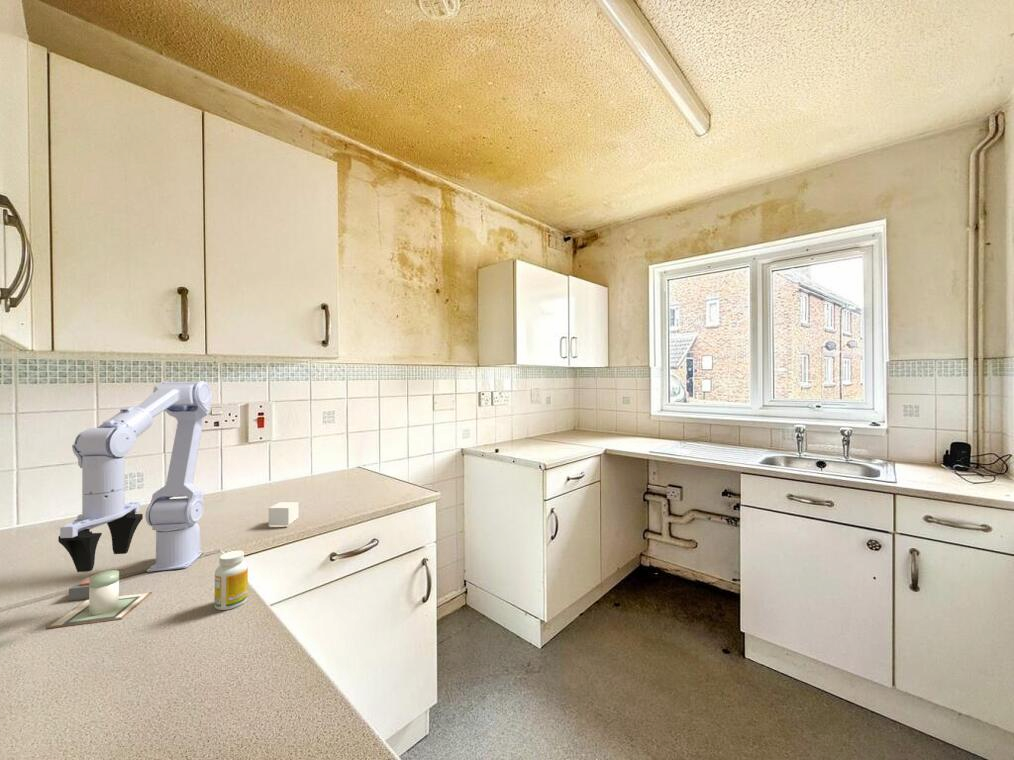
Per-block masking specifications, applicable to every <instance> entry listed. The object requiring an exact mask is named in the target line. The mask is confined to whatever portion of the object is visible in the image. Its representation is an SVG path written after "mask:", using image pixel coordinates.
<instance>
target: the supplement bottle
mask: <svg viewBox="0 0 1014 760" xmlns="http://www.w3.org/2000/svg"><path fill="white" fill-rule="evenodd" d="M244 559H245V552H244V551H243V550H232V551H228V552H225V553H223V554H221V555H219V560H218V561H219V562H218V563H219V566H218V567H217V568H216V569H215V571H214V608H215V609H216V610H218V611H227V610H231V609H235V608H238V607H240V606H242V605H244V604H245V602H246V601H247V600H248V587H249V586H248V581H249V578H248V577H249V576H248V575H249V574H248V572H249V571H248V568H249V567H248V563H247V562H246V561H244Z"/></svg>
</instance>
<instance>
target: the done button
mask: <svg viewBox="0 0 1014 760" xmlns="http://www.w3.org/2000/svg"><path fill="white" fill-rule="evenodd" d="M85 585H89V579H87V580H86V581H84V582H83V583H81V584H80V586H85Z"/></svg>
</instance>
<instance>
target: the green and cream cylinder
mask: <svg viewBox="0 0 1014 760" xmlns="http://www.w3.org/2000/svg"><path fill="white" fill-rule="evenodd" d="M89 577H90V578H89V599H88V600H89V614H90V615H100V614H104V613H107V612H110V611H112V610H114V609H116V608H117V607H118V606H119V596H120V595H119V594H120V571H119V570H116V569H112V570H105V571H102V572H98V573H95V574H93V575H92V576H89Z"/></svg>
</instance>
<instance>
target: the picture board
mask: <svg viewBox="0 0 1014 760" xmlns="http://www.w3.org/2000/svg"><path fill="white" fill-rule="evenodd" d="M152 593H153V592H152V591H150V592H140V593H132V594H126V595H125V594H123V595H119V606H118V607H117V608H116V609H114V610H112V611H110V612H107V613H104V614H100V615H90V614H89V599H84V601H83V602H81V603H79V604H78V605H76V606H75V607H74V608H72V609H70V611H68V612H66V613H65V614H64V615H62V616H61V617H60V618H59V617H58V619H57V620H55V621H54V622H52V623H51V624H49V625H48V626H46V627H45V630H47V629H48V630H49V629H55V628H56V629H58V628H64V627H73V626H80V625H86V624H87V625H88V624H94V623H96V624H97V623H101V622H110V621H117V620H118V621H119V620H123V619H124V618H125V617H126V616H127V615H128V614H129V613H131V612H132V611H133V610H134V609H135V608H136V607H137V606H138V605H140V604H141V603H142V602H143V601H145V599H147V598H148V597H149V596H151V594H152Z"/></svg>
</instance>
